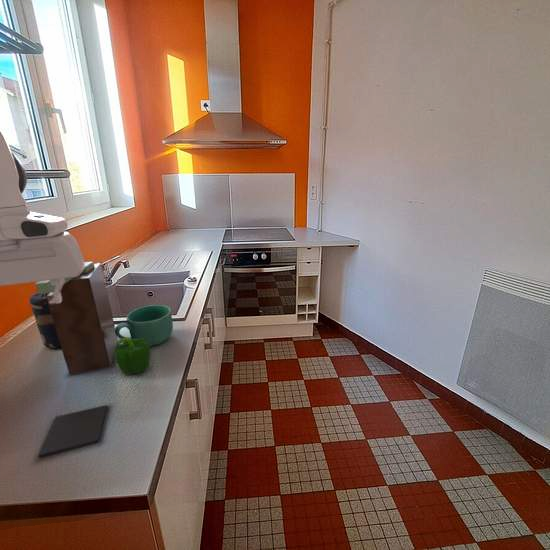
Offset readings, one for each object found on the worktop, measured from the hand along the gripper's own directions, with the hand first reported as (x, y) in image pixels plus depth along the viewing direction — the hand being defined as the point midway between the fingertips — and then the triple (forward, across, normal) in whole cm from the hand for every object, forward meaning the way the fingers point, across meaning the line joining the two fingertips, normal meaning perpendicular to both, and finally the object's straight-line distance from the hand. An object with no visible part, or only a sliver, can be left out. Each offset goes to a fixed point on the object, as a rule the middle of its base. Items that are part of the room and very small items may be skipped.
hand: (24, 307), depth 51 cm
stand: (+29, -1, +31) cm, 42 cm away
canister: (+29, -12, +44) cm, 54 cm away
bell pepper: (+29, +11, +20) cm, 37 cm away
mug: (+29, +14, +34) cm, 46 cm away
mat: (+29, +1, +2) cm, 29 cm away
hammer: (+3, -1, +25) cm, 25 cm away
